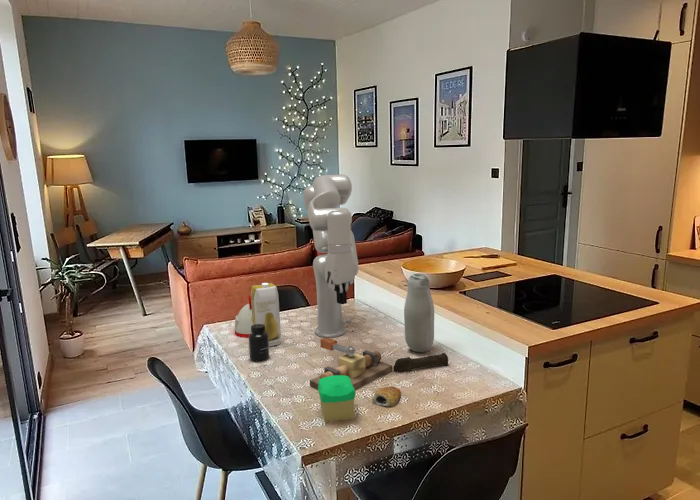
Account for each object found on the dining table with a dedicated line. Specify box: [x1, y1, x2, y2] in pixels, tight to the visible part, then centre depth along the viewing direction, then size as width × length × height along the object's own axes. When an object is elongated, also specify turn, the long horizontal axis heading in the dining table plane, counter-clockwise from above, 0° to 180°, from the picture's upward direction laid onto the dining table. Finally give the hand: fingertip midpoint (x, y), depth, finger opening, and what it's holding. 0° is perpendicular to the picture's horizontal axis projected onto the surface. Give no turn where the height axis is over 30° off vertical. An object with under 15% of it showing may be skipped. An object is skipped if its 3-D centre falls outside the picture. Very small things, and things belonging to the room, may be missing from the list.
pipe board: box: [309, 349, 393, 391], centre depth 161 cm, size 25×12×7 cm, turn 135°
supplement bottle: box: [248, 324, 270, 363], centre depth 179 cm, size 7×7×12 cm
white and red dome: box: [234, 295, 253, 339], centre depth 206 cm, size 14×14×15 cm
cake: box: [317, 375, 356, 422], centre depth 140 cm, size 10×11×10 cm
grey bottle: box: [403, 273, 435, 353], centre depth 180 cm, size 10×10×28 cm
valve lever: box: [320, 337, 356, 357], centre depth 164 cm, size 14×3×3 cm, turn 45°
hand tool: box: [392, 352, 449, 374], centre depth 168 cm, size 19×4×5 cm, turn 105°
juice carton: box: [250, 282, 281, 347], centre depth 191 cm, size 9×8×24 cm
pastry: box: [371, 385, 402, 408], centre depth 147 cm, size 9×7×4 cm
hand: (341, 303), depth 169 cm, fingers closed
